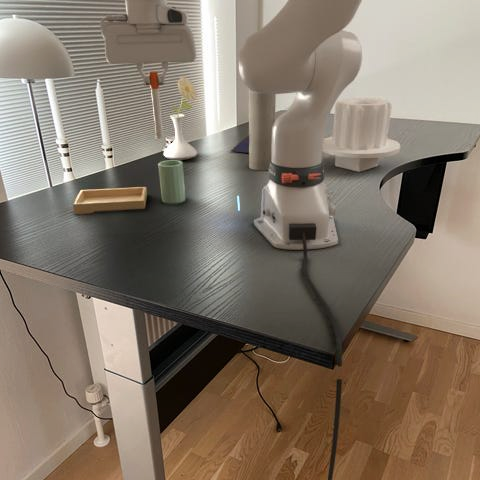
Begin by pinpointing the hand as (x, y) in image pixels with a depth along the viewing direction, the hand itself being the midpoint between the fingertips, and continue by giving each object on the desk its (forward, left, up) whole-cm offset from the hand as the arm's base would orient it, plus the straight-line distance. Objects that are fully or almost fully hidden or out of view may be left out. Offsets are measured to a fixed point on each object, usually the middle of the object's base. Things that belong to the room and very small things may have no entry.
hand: (154, 85), depth 111 cm
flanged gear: (+25, -60, -28) cm, 71 cm away
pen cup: (0, -2, -28) cm, 28 cm away
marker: (0, 0, -12) cm, 12 cm away
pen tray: (0, +14, -28) cm, 31 cm away
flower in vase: (+45, -5, -28) cm, 53 cm away
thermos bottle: (+29, -30, -28) cm, 50 cm away
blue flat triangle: (+56, -40, -28) cm, 74 cm away
